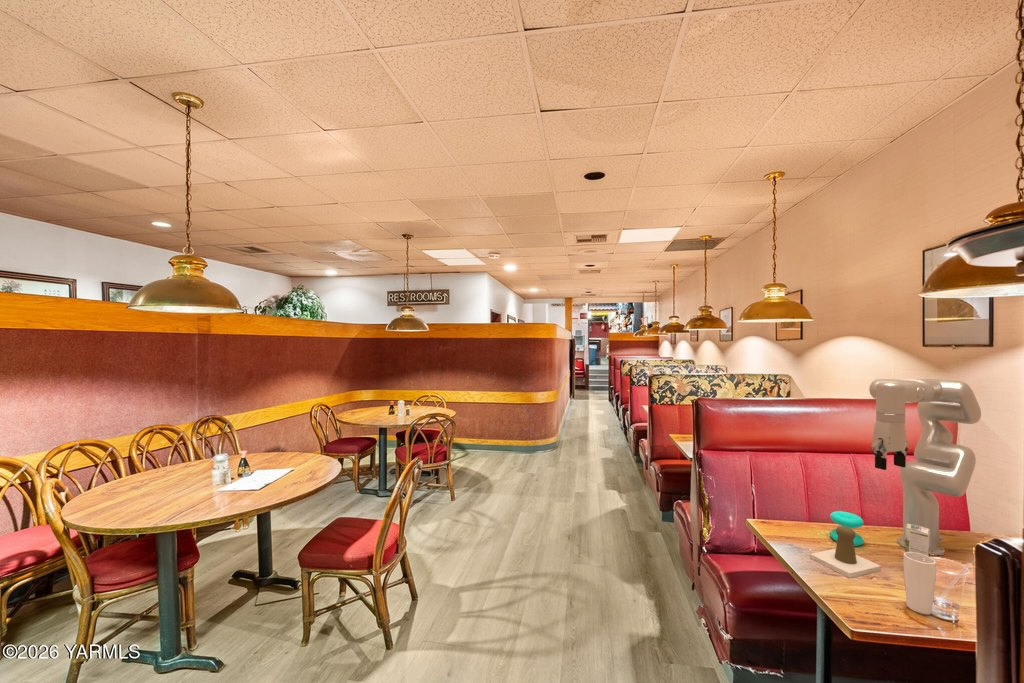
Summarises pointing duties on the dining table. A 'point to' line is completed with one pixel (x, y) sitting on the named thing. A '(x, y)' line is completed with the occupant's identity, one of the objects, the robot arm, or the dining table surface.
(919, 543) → the syrup box
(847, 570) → the ceramic tile
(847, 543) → the cork
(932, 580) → the white tall cup
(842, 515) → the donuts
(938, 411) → the robot arm
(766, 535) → the dining table surface
